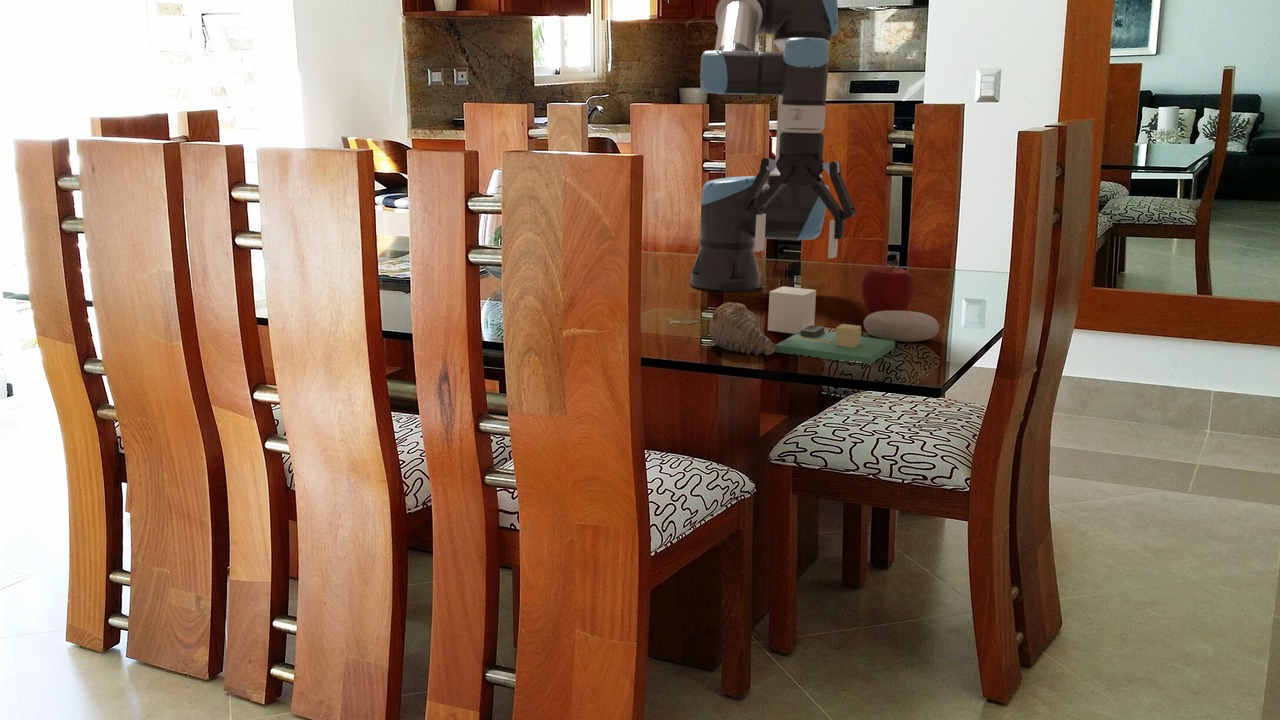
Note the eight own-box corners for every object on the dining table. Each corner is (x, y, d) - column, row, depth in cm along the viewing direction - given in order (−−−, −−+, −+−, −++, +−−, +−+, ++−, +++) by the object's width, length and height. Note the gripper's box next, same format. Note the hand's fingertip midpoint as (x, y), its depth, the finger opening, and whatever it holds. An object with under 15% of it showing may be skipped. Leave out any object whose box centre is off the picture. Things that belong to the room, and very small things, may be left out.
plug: (767, 330, 197) (769, 291, 196) (781, 323, 203) (783, 286, 202) (801, 334, 195) (803, 295, 193) (814, 327, 200) (817, 289, 199)
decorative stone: (860, 342, 190) (862, 314, 189) (865, 331, 199) (867, 304, 197) (936, 349, 187) (939, 320, 186) (938, 338, 195) (941, 310, 194)
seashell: (727, 359, 193) (705, 306, 192) (781, 338, 190) (759, 284, 189) (719, 376, 180) (695, 319, 179) (777, 354, 177) (753, 296, 176)
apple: (881, 324, 204) (885, 271, 202) (849, 314, 213) (853, 263, 210) (921, 320, 209) (925, 268, 206) (888, 311, 217) (892, 260, 214)
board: (774, 352, 182) (776, 326, 181) (804, 336, 194) (805, 312, 193) (870, 365, 174) (872, 339, 173) (894, 347, 186) (896, 323, 185)
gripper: (726, 129, 193) (721, 250, 198) (866, 134, 181) (857, 263, 186) (743, 128, 199) (738, 245, 204) (879, 133, 188) (870, 257, 193)
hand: (795, 254), depth 195 cm, fingers open, 13 cm apart
